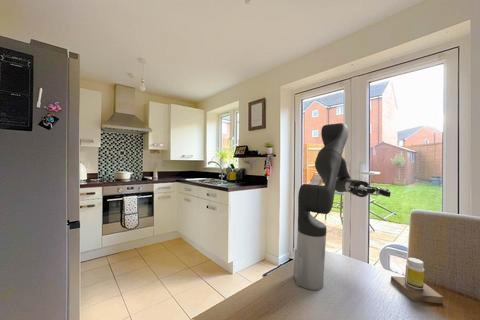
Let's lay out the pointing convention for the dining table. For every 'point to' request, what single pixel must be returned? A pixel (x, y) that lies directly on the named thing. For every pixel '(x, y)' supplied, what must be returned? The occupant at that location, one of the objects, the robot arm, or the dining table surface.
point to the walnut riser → (417, 291)
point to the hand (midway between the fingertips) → (377, 193)
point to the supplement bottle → (414, 273)
